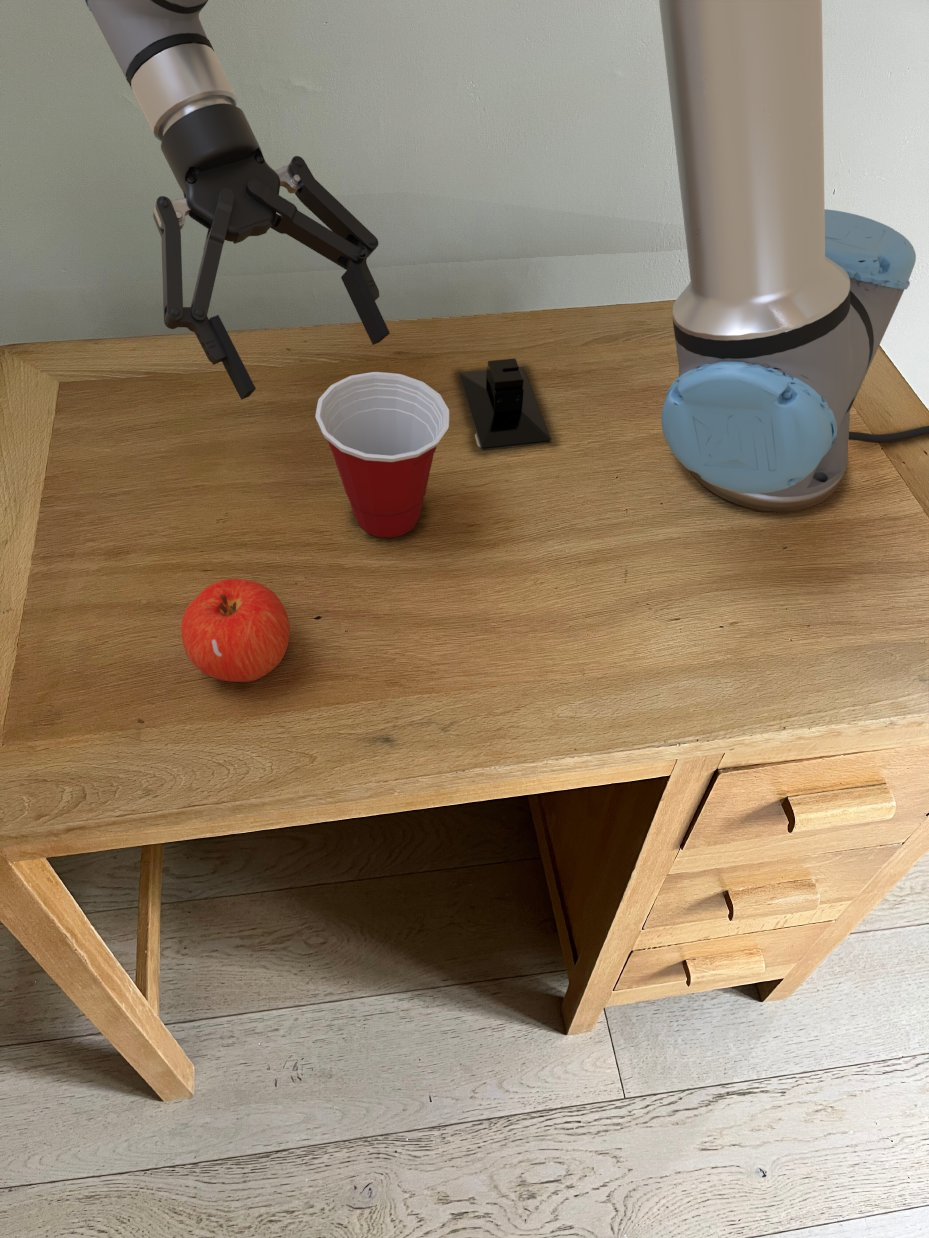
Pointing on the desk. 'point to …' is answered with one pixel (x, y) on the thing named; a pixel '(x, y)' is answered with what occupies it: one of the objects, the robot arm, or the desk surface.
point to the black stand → (503, 406)
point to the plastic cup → (383, 445)
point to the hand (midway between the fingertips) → (317, 366)
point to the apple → (235, 630)
